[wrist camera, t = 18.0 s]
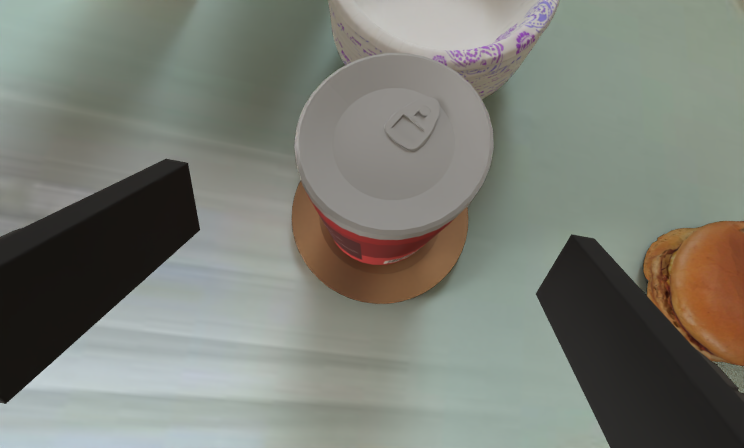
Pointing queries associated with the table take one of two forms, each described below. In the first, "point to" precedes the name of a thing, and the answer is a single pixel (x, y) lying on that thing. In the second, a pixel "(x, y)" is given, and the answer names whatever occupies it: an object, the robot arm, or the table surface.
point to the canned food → (392, 153)
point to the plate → (366, 278)
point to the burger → (702, 286)
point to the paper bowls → (445, 33)
